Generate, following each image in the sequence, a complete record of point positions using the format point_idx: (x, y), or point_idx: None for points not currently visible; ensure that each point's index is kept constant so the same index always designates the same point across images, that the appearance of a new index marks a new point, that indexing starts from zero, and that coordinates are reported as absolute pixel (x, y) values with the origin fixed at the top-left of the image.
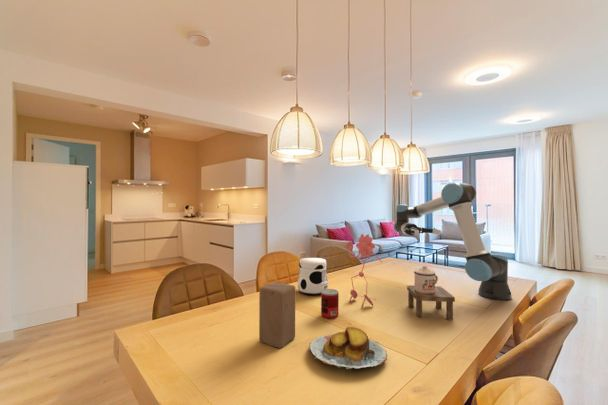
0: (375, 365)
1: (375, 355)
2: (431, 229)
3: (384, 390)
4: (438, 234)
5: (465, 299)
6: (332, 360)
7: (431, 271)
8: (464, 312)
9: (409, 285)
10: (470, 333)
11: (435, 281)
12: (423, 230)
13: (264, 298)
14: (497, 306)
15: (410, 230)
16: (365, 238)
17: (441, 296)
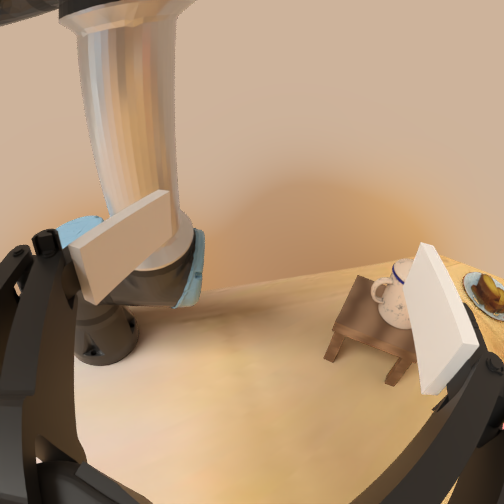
0: (471, 272)
1: (469, 288)
2: (57, 275)
3: (463, 267)
4: (162, 242)
5: (201, 363)
6: (497, 286)
7: (406, 260)
8: (293, 322)
9: (415, 353)
10: (353, 282)
11: (372, 296)
12: (56, 410)
13: None
14: (187, 309)
15: (483, 352)
16: None
17: (380, 285)
